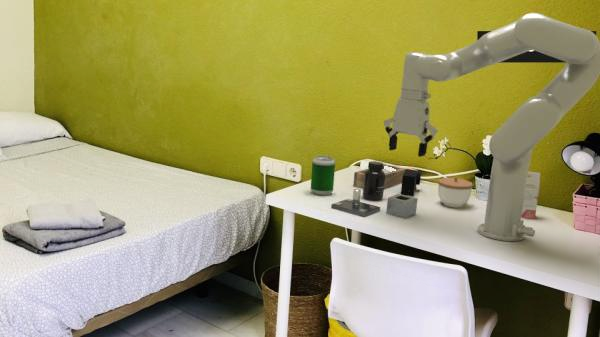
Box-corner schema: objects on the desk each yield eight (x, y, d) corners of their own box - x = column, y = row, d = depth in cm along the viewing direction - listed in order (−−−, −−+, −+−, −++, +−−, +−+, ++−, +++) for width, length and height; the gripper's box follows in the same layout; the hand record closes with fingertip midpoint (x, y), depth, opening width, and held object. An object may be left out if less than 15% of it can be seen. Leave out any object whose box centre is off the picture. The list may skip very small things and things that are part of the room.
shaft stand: (379, 210, 185) (381, 191, 184) (364, 217, 178) (366, 197, 177) (347, 202, 192) (348, 183, 191) (331, 207, 185) (332, 188, 184)
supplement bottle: (382, 202, 195) (385, 166, 192) (361, 199, 196) (364, 164, 193) (383, 196, 201) (387, 161, 199) (363, 194, 203) (366, 159, 200)
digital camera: (416, 197, 203) (418, 177, 202) (400, 195, 205) (402, 175, 203) (419, 189, 213) (421, 170, 211) (404, 187, 214) (405, 168, 213)
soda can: (333, 196, 198) (336, 161, 195) (310, 195, 198) (312, 159, 195) (332, 190, 205) (335, 156, 202) (310, 189, 205) (312, 154, 202)
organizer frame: (404, 181, 222) (406, 168, 221) (376, 191, 207) (377, 177, 206) (382, 176, 228) (383, 163, 227) (353, 186, 212) (354, 172, 211)
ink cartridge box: (535, 215, 190) (542, 170, 187) (534, 219, 186) (541, 173, 182) (506, 211, 193) (513, 166, 190) (505, 215, 189) (512, 169, 185)
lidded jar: (452, 198, 204) (455, 171, 202) (476, 207, 195) (480, 179, 193) (429, 202, 198) (432, 174, 196) (453, 211, 189) (457, 182, 187)
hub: (415, 214, 184) (417, 198, 183) (405, 218, 179) (407, 202, 178) (396, 209, 188) (398, 193, 187) (386, 213, 183) (387, 197, 182)
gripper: (446, 98, 173) (439, 156, 177) (394, 91, 183) (388, 146, 187) (434, 100, 167) (427, 160, 171) (381, 92, 178) (375, 149, 182)
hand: (406, 152), depth 179 cm, fingers open, 9 cm apart
